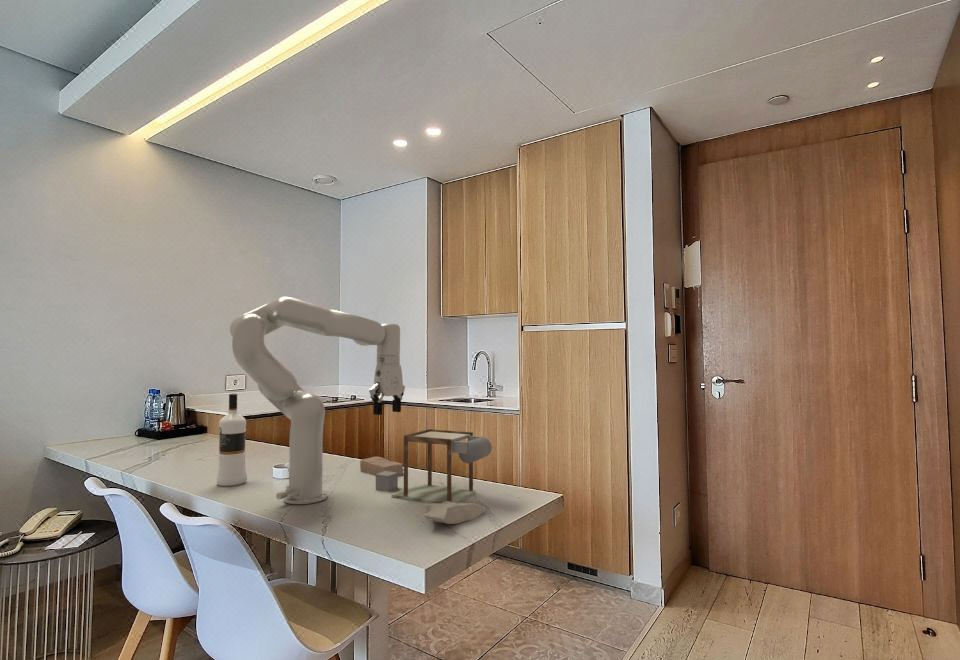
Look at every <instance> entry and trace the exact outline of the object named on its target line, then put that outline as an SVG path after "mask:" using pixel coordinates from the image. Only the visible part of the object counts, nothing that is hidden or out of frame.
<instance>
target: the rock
mask: <svg viewBox="0 0 960 660" xmlns="http://www.w3.org/2000/svg"><path fill="white" fill-rule="evenodd" d="M425 506H426V510H427V513H423V518H425V519H428V520H431V521H432V522H434V523H443V524H446V525H455V524H460V523H462V522H467V521H468V522H469V521H474V518H475V519H477V518H478V517H480V516H481V515H483V514H484V513H485V512H486V510H487V509H486V507H485V506H483V505H481V504H477V503H475V502H469V503H468V502H459V503H452V502H450V501H446V502H444V503H426V504H425Z"/></svg>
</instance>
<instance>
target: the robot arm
mask: <svg viewBox="0 0 960 660" xmlns="http://www.w3.org/2000/svg"><path fill="white" fill-rule="evenodd" d="M284 326H287V327H290V328H294V329H297V330H302V331H306V332H309V333H313V334H315V335H321V336H324V337H338V338H344V339H350V340H353V342H354V343H355V344H357V345H359V346H376V366H375V371H374V379H373V385H372V386H371V387H369V390H368V392H369V395H370V399H371V401H372V403H373V412H372V413H373V415H374V416H375V415H376V416H382V415H383V402H382V401H383V398H384V397H392V398H393V399H392V401H391V402H392V403H391V404H392V406H391V407H392V410H391V411H392V412H393V413H394V412H395V413H401V411H402V400H403V396H404V395H405V394H404V392H405V391H406V390H405V389H406V386H405V385H404V384H403V382H404V381H403V370H402V367H401V366H402V365H401V364H400V363H401V327H400V325H399V324H397V323H380V322H379V321H376V320H373V319H370V318H368V317H362V316H360V315H356V314H352V313H348V312H345V311H344V312H343V311H339V310H336V309H331V308H328V307H324V306H321V305H317V304H315V303H311V302H307V301H304V300H301V299H299V298H295V297H289V296H280V297H278V298H275V299H273V300H271V301H268V302H267V303H265V304H263V305H261V306H259V307H257V308H254V309H252V310H251V311H247V312H245V313H243V314H241V315H239V316H237V317H235V318H234V319H233V320H232V322H231V324H230V327H229V333H230V335H231V337H232V341H231V345H232V346H231V347H232V353H233V356H234V359H235V360H236V362H237V364H238V366H240V368H241V369H242V370H243V371H244V372H245V373H246V374H247V375H248V376H249V377H250V378H251V379H252V380H253V381H254V382H255V383H256V384H257V388H258V390H259V392H260V393H261V394H262V396H264V398H265V399H266V400H268V402H269V403H271V404H272V405H273V406H274V407H275V408H276V409H277V410H278V411H280V413H282V414H283V415H284V416H285V417H286V418H288V419H289V420H290V430H289V441H288V442H289V449H288V450H289V454H288V455H289V456H288V457H289V458H288V459H289V460H288V461H289V463H288V464H289V465H288V466H289V469H288V471H289V473H288V475H289V476H288V477H289V479H288V485H286V489H285V490H284V491H280V492H277V493H276V495H275V497H276V499H277V500H278V501H280V500H282V499H283V502H284V503H286V504H291V505H308V504H315V503H319V502H322V501H324V500H326V499H327V498H328V491H325V490H323V456H324V455H323V454H324V453H323V449H324V448H323V447H324V446H323V443H324V442H323V439H324V438H323V434H324V423H325V415H326V408H325V405H324V402H323V400H322V399H321V398H320V397H319V396H318V395H316V394H314V393H311V392H307V391H305V390H304V389H303V387H301V386H300V385H299V384H298V380H297V378H296V376H295V375H294V374H293V373H292V371H290V370H289V369H288V368H286V367H285V366H284V365H283V363H281V362H280V361H279V360H278V359H277V358H275V356H274V355H273V354H272V352H270V351H269V349H268V348H267V346H266V344H265V336H266V335H268V334H270V333H272V332H275V331H276V330H278V329H280V328H282V327H284Z"/></svg>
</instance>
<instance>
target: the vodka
mask: <svg viewBox="0 0 960 660" xmlns="http://www.w3.org/2000/svg"><path fill="white" fill-rule="evenodd" d="M218 425H219V429H218V430H219V435H218V437H219V439H218V441H219V443H218V470H217V471H218V472H217V476H216V484H217V485H218V486H220V487H235V486H240V485H243V484H245V483H246V482H247V480H248V474H247V468H246V454H247V451H246V431H247V420H246V418H245V417H244V416H243V415H241V414H239V413H238V394H237V393H229V394H228V414H227V413H226V415H225V416H223V417H222V418H221V419H220V420H219V422H218Z"/></svg>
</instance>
